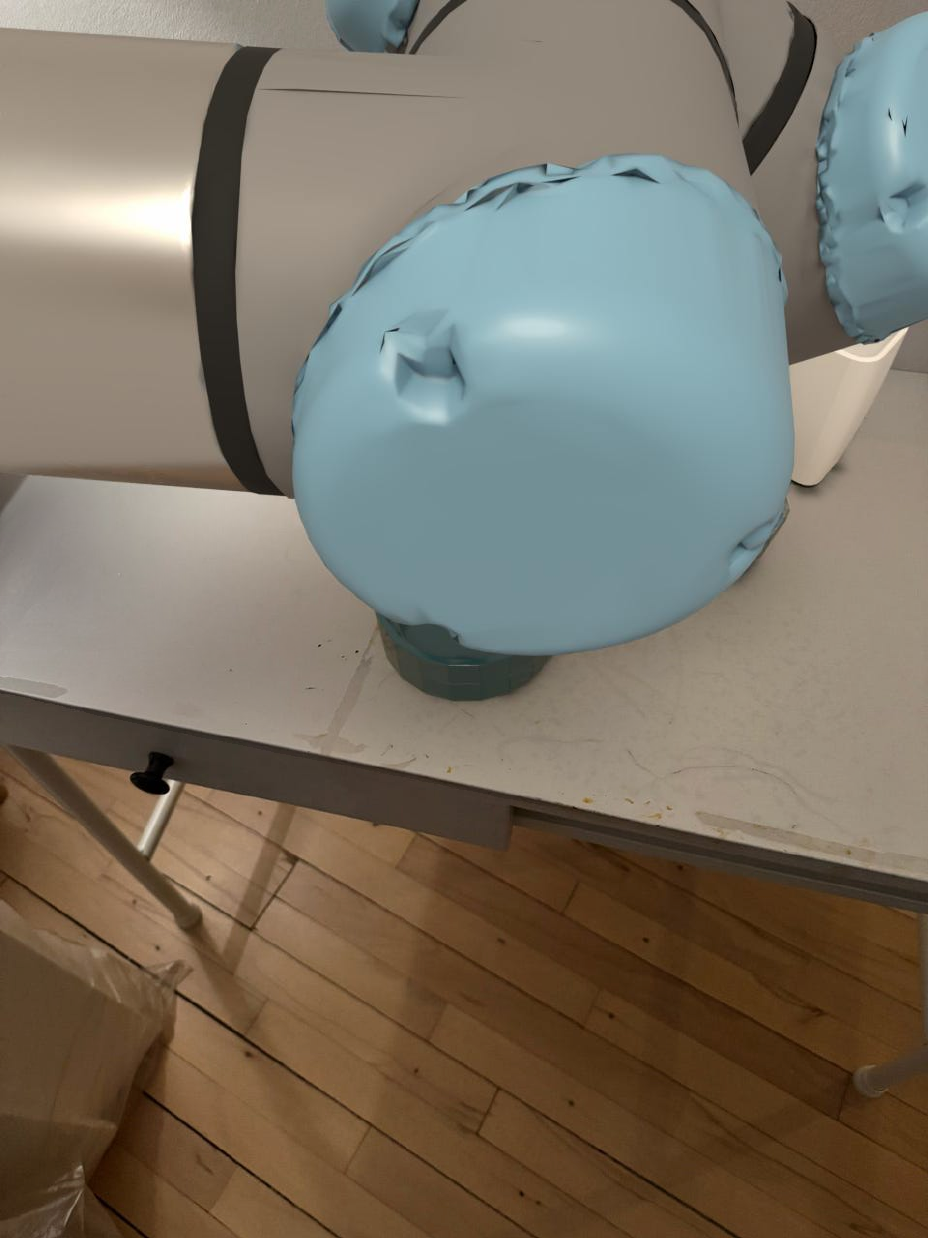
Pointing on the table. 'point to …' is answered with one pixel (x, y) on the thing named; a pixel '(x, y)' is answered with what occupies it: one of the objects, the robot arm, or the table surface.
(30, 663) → the table surface
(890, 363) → the cup
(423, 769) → the table surface
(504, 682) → the bowl
